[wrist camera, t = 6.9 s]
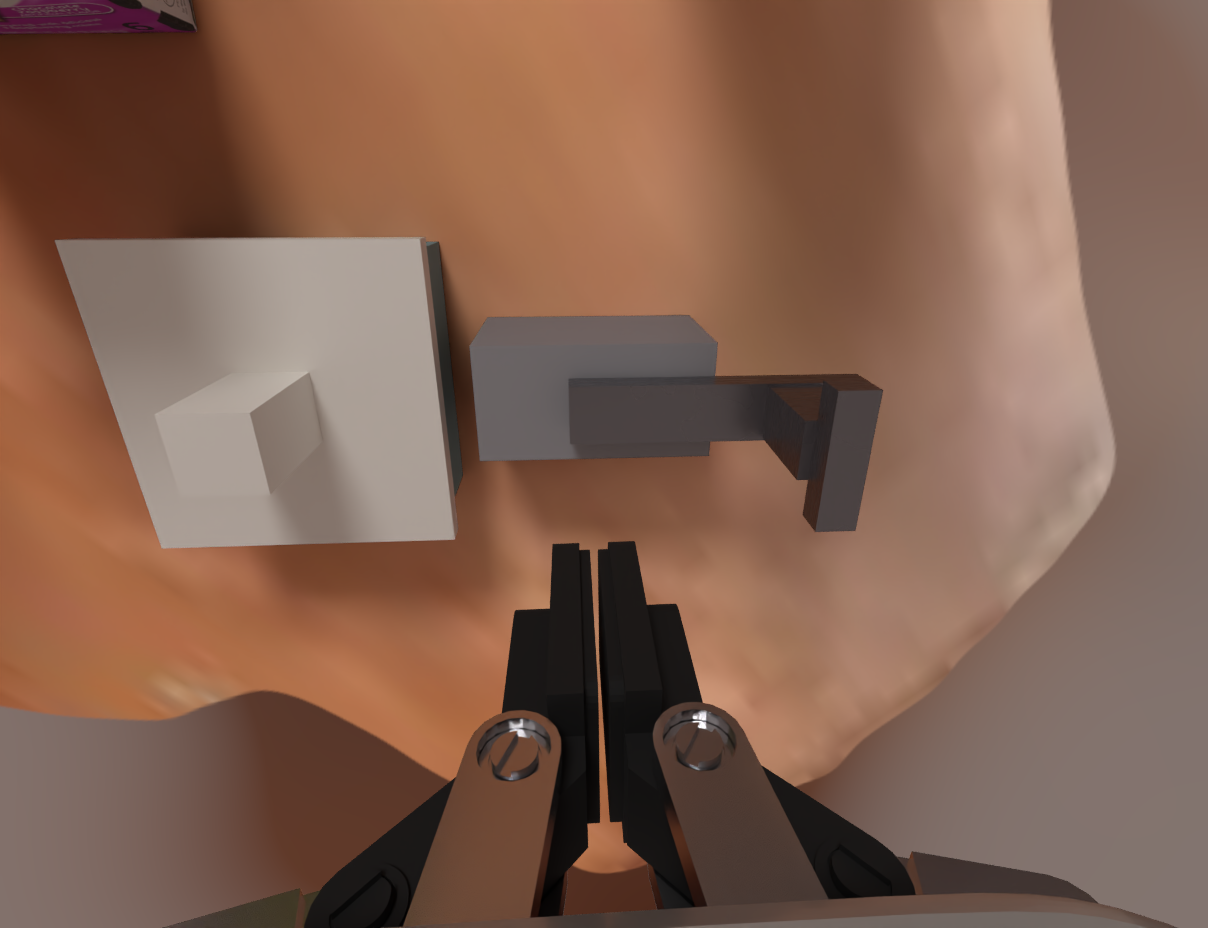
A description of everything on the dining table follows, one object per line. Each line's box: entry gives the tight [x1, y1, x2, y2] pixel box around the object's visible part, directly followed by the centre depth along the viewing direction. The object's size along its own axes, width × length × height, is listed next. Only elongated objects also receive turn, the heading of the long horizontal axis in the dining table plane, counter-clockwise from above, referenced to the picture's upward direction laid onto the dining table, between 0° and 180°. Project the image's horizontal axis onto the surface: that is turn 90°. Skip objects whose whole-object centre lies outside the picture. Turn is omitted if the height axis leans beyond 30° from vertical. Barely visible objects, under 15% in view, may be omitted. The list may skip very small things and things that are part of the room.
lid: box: [55, 237, 458, 548], centre depth 23 cm, size 13×13×6 cm
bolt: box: [568, 374, 883, 532], centre depth 22 cm, size 5×12×6 cm, turn 90°
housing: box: [426, 242, 718, 495], centre depth 28 cm, size 12×24×6 cm, turn 90°
